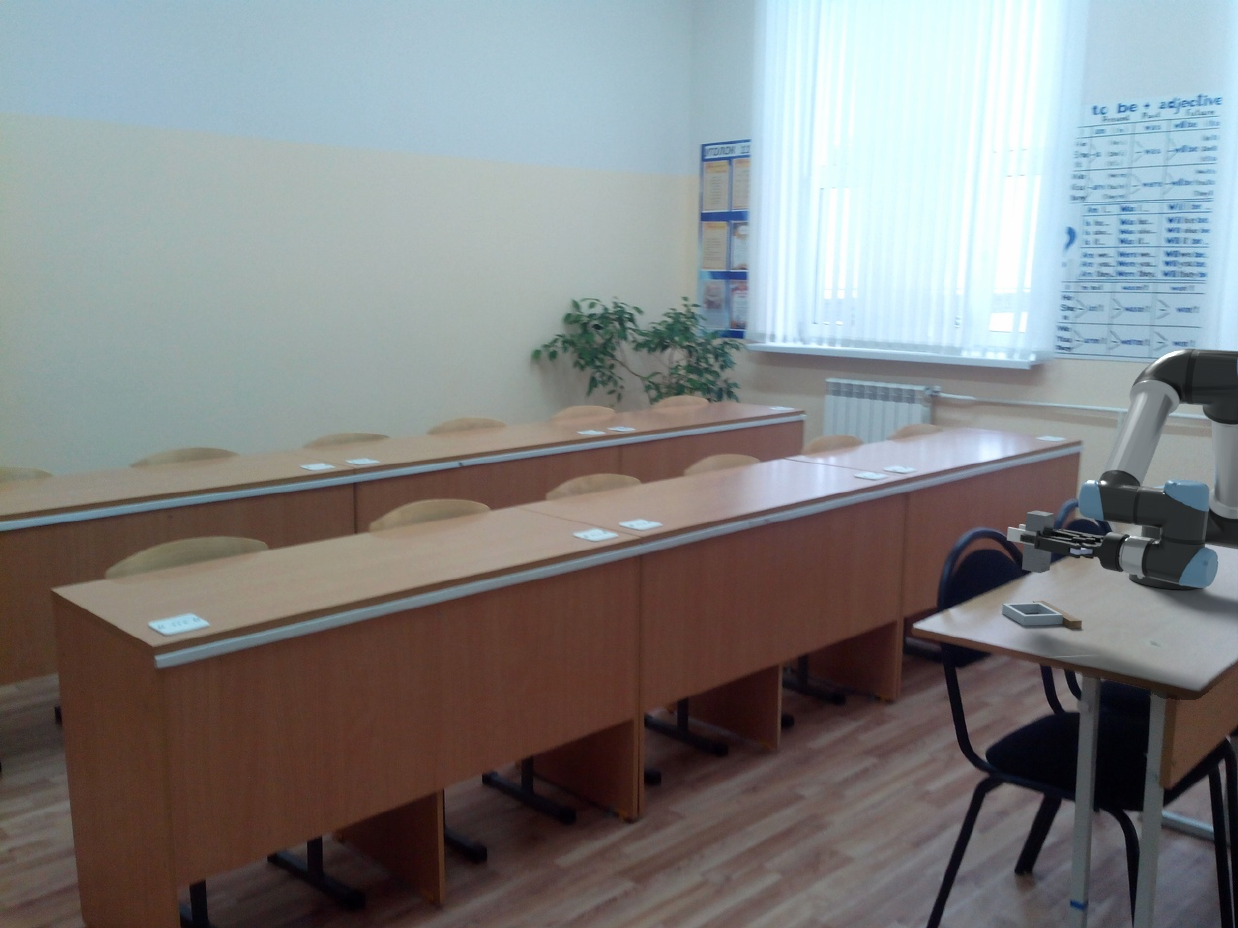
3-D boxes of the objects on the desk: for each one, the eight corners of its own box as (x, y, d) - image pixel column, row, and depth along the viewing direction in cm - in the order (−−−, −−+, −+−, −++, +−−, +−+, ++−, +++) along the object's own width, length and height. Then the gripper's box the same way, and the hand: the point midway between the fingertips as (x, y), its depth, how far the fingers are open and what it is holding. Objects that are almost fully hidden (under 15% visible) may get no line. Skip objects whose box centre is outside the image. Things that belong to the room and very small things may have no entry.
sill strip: (1043, 607, 228) (1043, 600, 228) (1081, 627, 215) (1081, 620, 214) (1032, 607, 228) (1033, 601, 227) (1070, 628, 214) (1070, 621, 214)
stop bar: (1031, 566, 221) (1035, 510, 219) (1049, 570, 218) (1054, 513, 216) (1021, 569, 219) (1026, 512, 217) (1040, 573, 216) (1045, 516, 214)
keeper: (1039, 611, 225) (1039, 602, 225) (1062, 623, 217) (1063, 614, 216) (1002, 612, 224) (1002, 603, 223) (1023, 625, 215) (1024, 616, 215)
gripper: (1105, 579, 199) (991, 555, 216) (1143, 565, 210) (1032, 543, 227) (1109, 541, 198) (994, 519, 215) (1147, 529, 209) (1035, 509, 226)
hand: (1014, 532), depth 221 cm, fingers closed on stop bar, 4 cm apart
